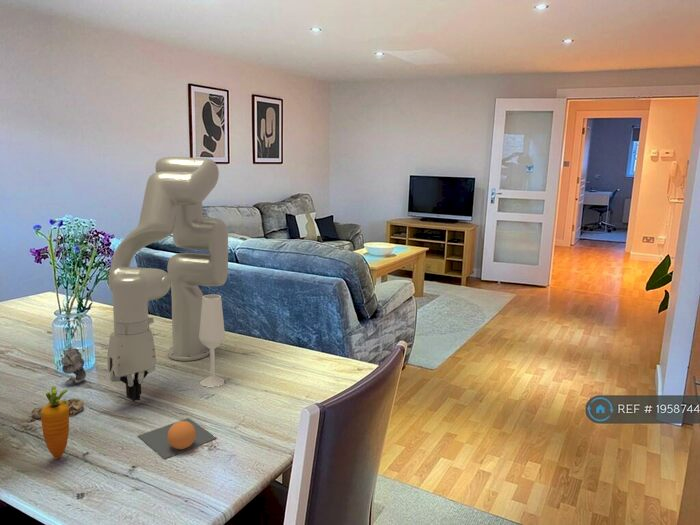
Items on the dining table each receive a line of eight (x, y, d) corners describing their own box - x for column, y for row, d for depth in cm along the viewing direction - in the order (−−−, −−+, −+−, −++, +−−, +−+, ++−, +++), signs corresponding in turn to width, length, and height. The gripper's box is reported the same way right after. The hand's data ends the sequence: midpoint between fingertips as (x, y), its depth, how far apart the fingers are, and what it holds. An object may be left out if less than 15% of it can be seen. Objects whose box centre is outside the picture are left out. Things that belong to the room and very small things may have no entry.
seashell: (76, 388, 133) (74, 351, 131) (58, 385, 134) (56, 349, 132) (90, 380, 138) (88, 344, 136) (73, 377, 139) (71, 342, 137)
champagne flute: (230, 382, 140) (230, 297, 136) (208, 389, 135) (207, 301, 131) (216, 375, 144) (215, 292, 140) (194, 381, 140) (193, 296, 135)
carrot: (51, 452, 104) (46, 382, 101) (76, 452, 104) (72, 382, 101) (38, 466, 99) (33, 393, 96) (65, 466, 99) (60, 393, 97)
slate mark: (188, 418, 120) (188, 417, 120) (216, 438, 112) (216, 437, 112) (137, 436, 111) (137, 435, 111) (164, 459, 103) (164, 458, 103)
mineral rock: (82, 392, 126) (83, 397, 119) (84, 410, 126) (85, 416, 119) (31, 402, 121) (29, 407, 114) (33, 421, 121) (31, 427, 114)
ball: (202, 431, 106) (197, 450, 108) (191, 412, 109) (186, 430, 112) (175, 439, 102) (171, 458, 105) (165, 419, 106) (161, 438, 108)
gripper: (154, 317, 130) (156, 385, 133) (92, 328, 119) (96, 402, 122) (168, 324, 125) (170, 395, 128) (105, 336, 114) (108, 414, 117)
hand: (134, 398), depth 125 cm, fingers closed
